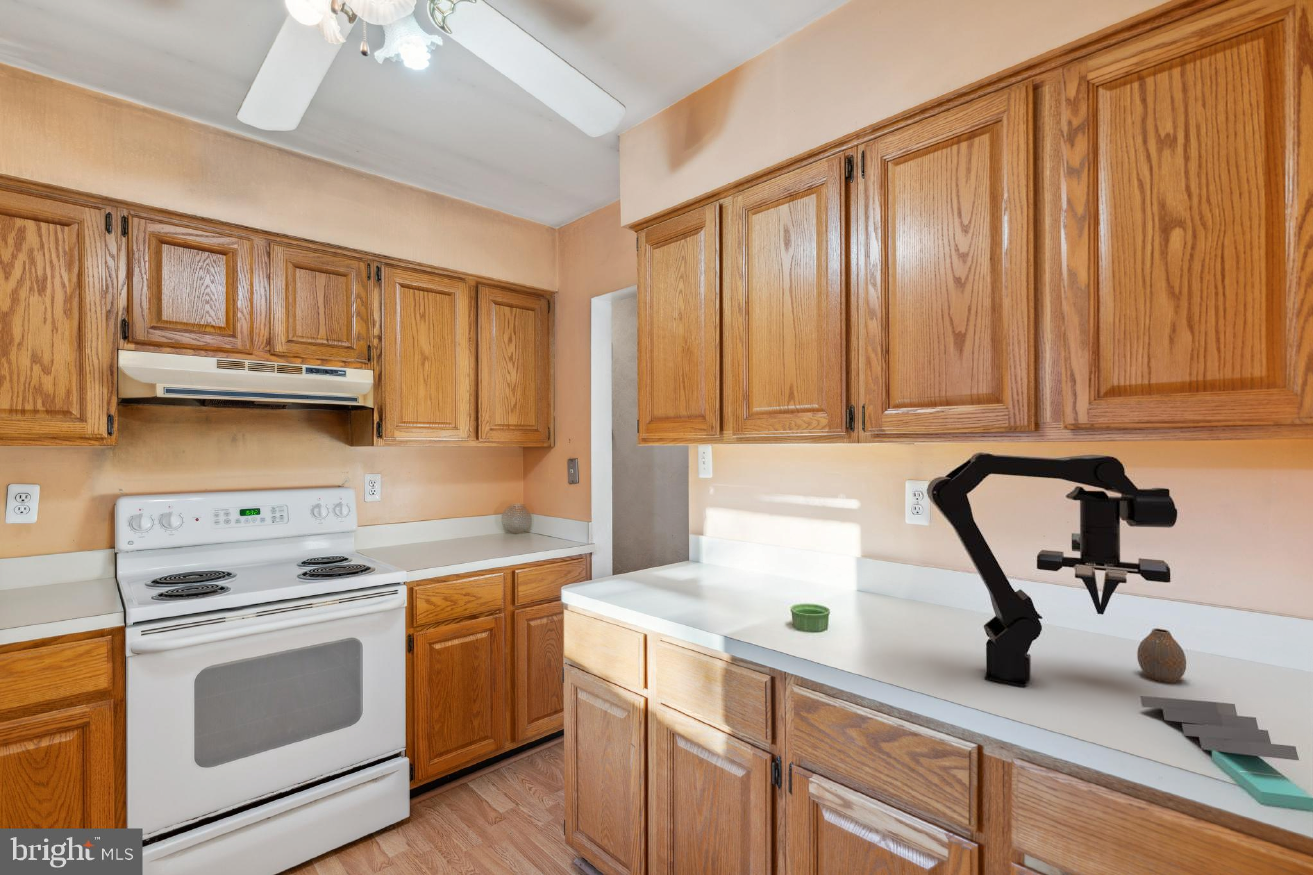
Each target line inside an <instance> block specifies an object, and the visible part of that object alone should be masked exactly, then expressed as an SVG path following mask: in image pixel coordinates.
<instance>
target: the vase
mask: <svg viewBox="0 0 1313 875" xmlns="http://www.w3.org/2000/svg"><path fill="white" fill-rule="evenodd" d="M1136 657H1137V658H1136V659H1137V662H1138V665H1139V667H1140V669H1141V670H1142V672H1143V673H1144V674H1145V675H1146V676H1147V677H1149V678H1150V679H1151V680H1156V681H1158V682H1162V681H1163V683H1175V682H1177V681H1178V680H1180V679H1181V678H1183V676H1184V675H1185V672H1186V669H1187V657H1186V654H1185V652H1184V649H1183V648H1182V646H1181V645H1180V644H1179V642H1178V641H1177V640H1176V639H1175V638H1174V637H1173V636H1172V634H1171V631H1169V630H1168V629H1167V630H1166V629H1162V628H1157V627H1156V628H1152V630H1151V632H1150V633H1149V634H1148V635H1146V637H1144V638H1143V639H1142V640H1141V642H1140V643H1139V645H1138V647H1137V652H1136Z"/></svg>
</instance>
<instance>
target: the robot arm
mask: <svg viewBox="0 0 1313 875" xmlns="http://www.w3.org/2000/svg"><path fill="white" fill-rule="evenodd" d="M989 475H1003V476H1015V477H1016V476H1018V477H1030V478H1044V479H1056V480H1057V479H1059V480H1062V481H1066V482H1067V481H1068V482H1071V483H1076V484H1081V485H1085V486H1089V487H1093V488H1099V489H1103V490H1086V489H1085V488H1084V487H1083V486H1078V485H1077V486H1075V488H1074V489H1073V490H1072V491H1070V492H1069V493H1067V494H1066V495H1065V498H1066V499H1068V500H1072V501H1079V533H1075V532H1073V533H1072V532H1071V551H1072V552H1078V553H1079V555H1080V557H1073V556H1064V554H1065V553H1064V551H1059V550H1048V549H1042V550H1040V551H1039V552H1038V553H1037V555H1036V569H1037V570H1041V571H1050V572H1058V571H1061V569H1063V567H1064V568H1073V569H1074V570H1075V571H1074V570H1073V571H1074V578H1075V579H1079V580H1081V581H1082V582H1083V584H1084V586H1085V587H1086V590H1087V591H1088V592H1089V596H1090V597H1091V600H1092V603H1093V605H1094V608H1095V610H1096V613H1097V615H1105V614H1104V613H1105V611H1106V610H1107V607H1108V604H1109V602H1110V599H1111V597H1112V595H1113V594H1114V592H1115V590H1117V587H1118V586H1119V584H1127V583H1128V581H1127V575H1128V574H1133V575H1134V574H1135V575H1139V576H1141V577H1142V578H1143V579H1144V581H1148V582H1155V583H1156V582H1157V583H1169V584H1170V583H1171V568H1170V566H1169V563H1167V562H1166V561H1165V560H1163V559H1162V560H1161V559H1154V558H1153V559H1151V558H1150V559H1149V558H1139V557H1138V560H1137V561H1138V562H1128V561H1121V520H1122V521H1125V523H1126V524H1127V525H1128V526H1129V527H1131V528H1132V527H1133V528H1135V527H1137V528H1164V529H1165V528H1169V529H1170V528H1172V527H1175V525H1176V522H1177V519H1178V509H1177V508H1176V505H1175V502H1174V500H1173V498H1172V496H1171V495H1170V489H1169V488H1165V487H1153V488H1138V487H1137V486H1136V485H1135V484H1134V483H1133V482H1132V480H1131V479H1130V478H1129V477H1128V476H1127V475H1126V471H1125V467H1124V465H1123V462H1121V461H1120V460H1119V459H1118V458H1116V457H1114V456H1109V455H1103V454H1084V455H1074V456H1073V455H1072V456H1065V457H1055V458H1053V457H1040V456H1039V457H1038V456H1024V455H1022V456H1021V455H1010V454H1009V455H1005V454H996V453H995V454H993V453H992V454H991V453H989V452H981V451H980V452H976V453H974V454H973V455H972V456H971V457H970V458H968V459H967V460H966V461H965V462H963V463H962V464H960V465H959V466H956V468H954V469H952V471H950V472H948V473H947V474H946V475H945V476H937V477H935V478H933V479H931V481H930V482H929V484H928V485H927V488H926V494H927V498H928V499H929V501H930V502H931V503H932V504H933V505H934V506H935V508H936V509H937V510H938V511H939V513H940V514H941V515H942V516H943V517H944V518H945V520H946V521H948V523H949V525H951V527H952V528H953V530H954V532H955V534H956V535H957V537H958V539H959V541H960V543H961V544H962V546H963V549H964V550H965V552H966V553H967V555H968V557H969V559H970V560H971V562H972V563H973V564H972V565H973V566H974V567H975V569H976V572H977V573H978V575H979V576H980V579H981V580H982V582H983V584H984V585H985V587H986V589H987V591H988V594H989V597H990V598H989V599H990V601H991V606H992V609H993V612H994V615H995V616H993V617H992V618H991V619H990V620H988V621H987V622H986V623H985V624H983V628H984V631H985V634H986V637H988V639H987V641H986V643H985V652H986V653H985V658H986V659H985V660H986V661H985V664H986V665H985V666H986V667H985V668H986V669H985V674H984V679H985V680H987V681H991V682H992V681H993V682H997V683H1001V684H1002V683H1003V684H1007V685H1013V686H1017V687H1022V688H1026V687H1027V683H1028V682H1030V681H1031V677H1032V665H1031V663H1032V662H1031V661H1032V658H1031V657H1032V656H1031V654H1029V650H1030V648H1031V646H1032V644H1033V641H1036V639H1038V638H1039V637H1040V635H1041V633H1042V630H1043V627H1042V623H1041V621H1040V620H1042V619H1044V618H1043V616H1041V614H1039V612H1038V611H1037V610H1036V608H1035V606H1034V602H1033V600H1032V598H1031V596H1030V595H1028V594H1027V593H1026V592H1024V590H1022V589H1021V588H1020V589H1018V590H1016V591H1015V589H1014V588H1013V587H1012V585H1011V583H1010V582H1009V580H1008V577H1007V576H1006V574H1005V572H1004V571H1003V569H1002V567H1001V565H1000V564H999V561H998V560H997V559H996V557H995V555H994V553H993V552H992V549H991V547H990V546H989V544H988V543H987V540H986V539H985V537H984V535H983V533H982V532H981V530H980V529H979V527H978V524H977V523H976V522H975V518H974V516H973V512H972V507H971V503H970V500H969V497H968V494H969V493H971V492H972V491H973V490H975V488H977V487H978V486H979V485H980V484H981V483H982V482H983V481H984V480H985V479H986V478H987V477H988V476H989ZM1106 491H1107V492H1111V493H1115V494H1120V495H1121V496H1115V495H1114V496H1112V495H1111V496H1109V495H1108V494H1107V492H1106ZM1096 571H1103V572H1104V571H1105V572H1104V577H1103V578H1104V579H1103V584H1102V591H1101V599H1100V595H1099V594H1100V593H1099V589H1098V583H1097V576H1096Z"/></svg>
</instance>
